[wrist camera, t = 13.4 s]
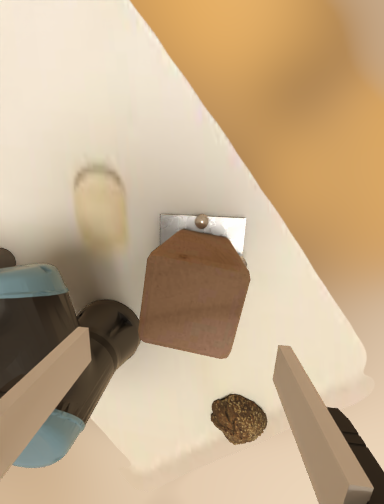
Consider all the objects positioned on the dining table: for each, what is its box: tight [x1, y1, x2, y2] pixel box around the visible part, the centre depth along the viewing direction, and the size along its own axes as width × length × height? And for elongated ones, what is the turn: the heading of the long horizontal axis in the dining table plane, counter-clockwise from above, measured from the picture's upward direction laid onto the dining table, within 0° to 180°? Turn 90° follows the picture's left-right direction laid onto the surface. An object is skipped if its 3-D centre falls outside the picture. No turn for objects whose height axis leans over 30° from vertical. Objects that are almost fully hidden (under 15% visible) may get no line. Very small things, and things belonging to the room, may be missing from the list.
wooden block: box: [138, 229, 250, 359], centre depth 28 cm, size 10×10×20 cm
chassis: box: [160, 214, 247, 266], centre depth 37 cm, size 17×17×4 cm
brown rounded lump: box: [211, 394, 267, 445], centre depth 46 cm, size 13×12×5 cm
